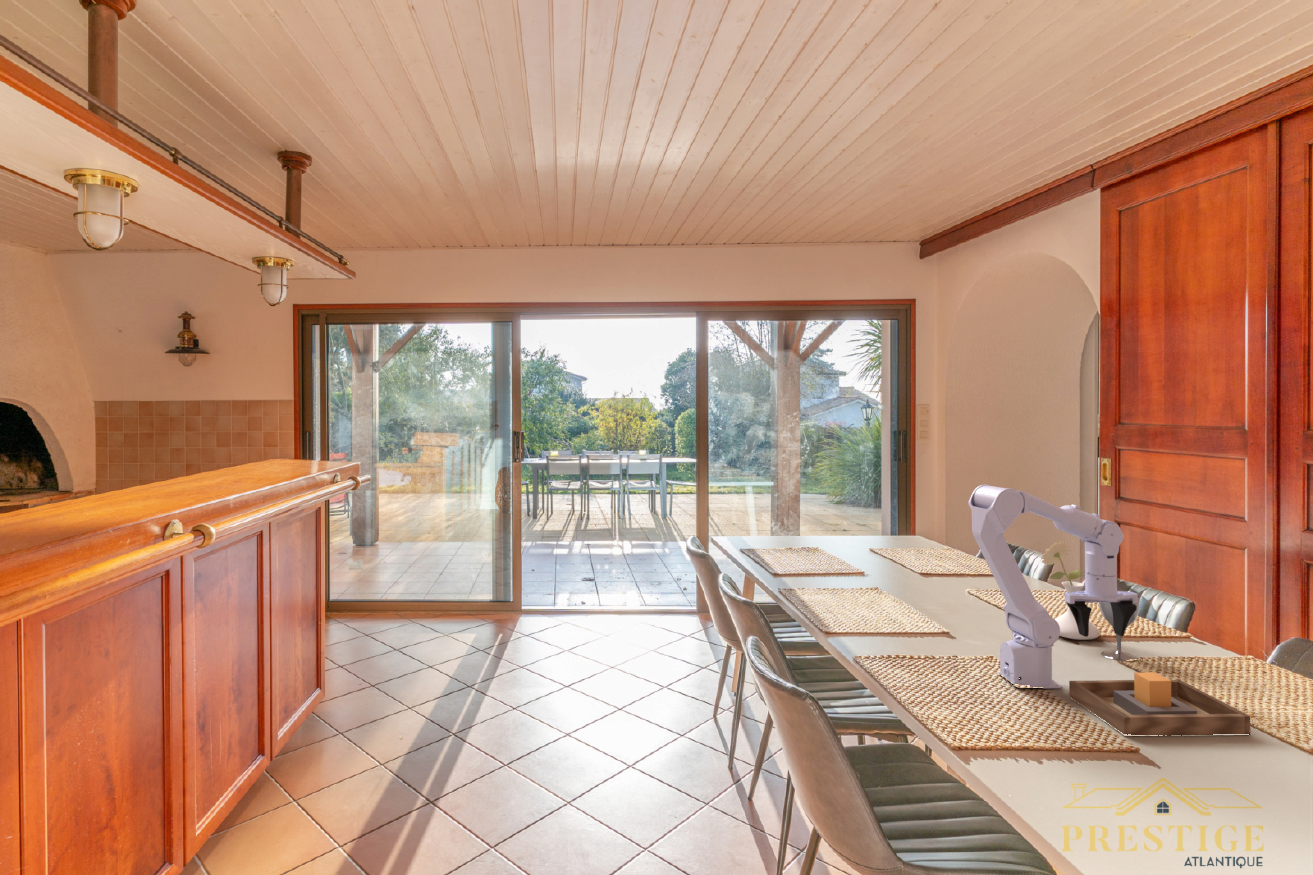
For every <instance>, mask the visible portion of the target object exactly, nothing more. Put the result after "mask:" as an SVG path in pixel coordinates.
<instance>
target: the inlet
mask: <svg viewBox="0 0 1313 875" xmlns="http://www.w3.org/2000/svg"><path fill="white" fill-rule="evenodd" d="M1113 696H1114V704H1116V705H1117V706H1119V707H1120V708H1122V709H1124V710H1125V711H1127V712H1128V713H1130V714H1131V715H1164V714H1197V711H1196V710H1194V709H1192V708H1191V707H1189V706H1187V705H1185V704H1184V703H1182V702H1180V701H1178V700H1176V699H1175V698H1173V697H1171V707H1148V706H1147V705H1145V704H1143V703H1142V702H1140V701H1139V700H1137V699H1135V698H1134V690H1128V691H1113Z"/></svg>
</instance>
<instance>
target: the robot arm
mask: <svg viewBox="0 0 1313 875" xmlns="http://www.w3.org/2000/svg"><path fill="white" fill-rule="evenodd" d="M967 503H968V504H967V505H968V506H969V508H970V510H971V533H972V536H973V538H974V540H975V542H976V544H977V546H978V548H979V550H980V552H981V554H982V556H983V558H984V560H985V562H986V564H987V566H988V568H989V569H990V571H991V574H992V576H993V579H994V580H995V582H996V584H997V585H998V588H999V590H1000V592H1001V594H1002V596H1003V597H1004V600H1005V602H1006V603H1005V604H1004V605H1003V607H1002V609H1003V610H1004V612H1005V623H1006V626H1007V628H1008V629H1009V630H1010V631H1011V636H1012V637H1013V638H1012V639H1010V640H1006V641H1003V642H1001V644H1000V647H999V663H1000V664H999V665H1000V667H999V668H1000V670H999V672H998V674H999V673H1000V674H1001V675H1003V676H1004V677H1005V678H1007V679H1008V680H1009V681H1010V682H1012V683H1013V684H1021V685H1030V687H1044V688H1043V689H1062V685H1061V684H1059V683H1058V682H1056V681H1055V680H1054V679H1053V650H1052V649H1053V647H1054V646H1055V645H1054V644H1055V643H1056V642H1057V641H1058V640H1059V637H1060V636H1059V635H1060V627H1059V624H1058V623H1057V621H1056V620H1055V618H1053V617H1052V616H1050V614H1049V612H1048V610H1047V609H1046V608H1045V607H1044V606H1043V605H1042V604H1041V603H1040V602H1039V601H1038V600H1037V599H1036V598H1035V597H1034V595H1033V592H1032V590H1031V589H1030V587H1029V584H1028V583H1027V581H1026V579H1025V577H1024V575H1023V572H1022V570H1021V569H1020V566H1019V565H1018V563H1017V560H1016V558H1015V556H1014V555H1013V553H1012V551H1011V548H1010V547H1009V544H1008V543H1007V541H1006V538H1005V537H1004V534H1005V532H1006V531H1007V530H1008V529H1009V528H1010V527H1011V526H1012V524H1013V523H1014V522H1015V521H1016V520H1017V518H1018V517H1019V516H1020V515H1021V514H1027V513H1031V514H1033V515H1035V516H1039V517H1042V518H1044V519H1047V520H1050V521H1052V522H1053V525H1054V527H1055V528H1056V530H1059V531H1062V532H1064V533H1067V534H1069V535H1071V536H1074V537H1075V538H1076V537H1077V538H1079V539H1080V540H1081V542H1084V572H1085V573H1084V578H1085V579H1084V590H1081V591H1078V592H1071V593H1067V592H1064V602H1066V605H1067V608H1068V607H1069V608H1070V610H1071V612H1072V614H1073V616H1074V618H1075V621H1076V624H1077V627H1078V631H1079V634H1081V635H1082V636H1084V637H1088V634H1089V621H1090V618H1091V617H1090V616H1091V613H1092V611H1093V608H1092V607H1089V606H1088V605H1087V604H1089V603H1090V604H1091V603H1092V604H1093V603H1099V602H1110V604H1111V608H1112V612H1113V627H1112V628H1113V633H1114V634H1115V635H1116V634H1117V635H1119V636H1122V637H1124V636H1125V632H1126V629H1127V628H1128V627H1127V624H1128V622H1129V620H1130V618H1131V616H1132V615H1133V613H1134V612H1135V611H1136V610H1137V606H1136V605H1135V604H1132V603H1138V595H1139V594H1138V593H1136V592H1133V591H1128V592H1122V591H1117V590H1118V580H1117V579H1118V578H1117V577H1118V573H1117V572H1118V566H1117V565H1118V560H1117V559H1118V558H1117V557H1118V554H1119V552H1120V546H1121V544H1122V542H1123V541H1124V538H1125V533H1124V532H1123V531H1122V529H1121V527H1120V526H1119V524H1118V523H1117V522H1114V521H1112V520H1106V519H1101V518H1100V514H1097V513H1094V512H1093V513H1089V512H1086V511H1084V510H1082V507H1081V506H1080V505H1076V504H1071V505H1069V504H1067V505H1063V506H1060V507H1059V506H1057V505H1054V504H1052V503H1051V502H1049V501H1047V500H1044V499H1042V498H1039V497H1038V496H1036V495H1033V494H1032V493H1029V492H1025V491H1021V490H1017V489H1014V488H1011V487H1010V488H1006V487H1000V486H993V485H991V484H981V485H978V486H977V487H975V488H974V489H973V491H972V493H971V495H970V498H969V499H968V502H967ZM1126 627H1127V628H1126ZM1018 678H1020V679H1018Z"/></svg>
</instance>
